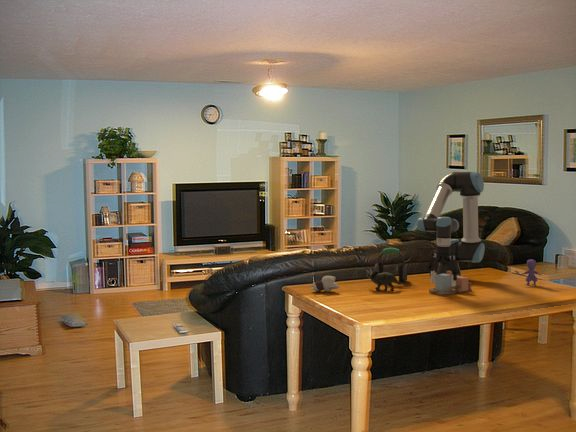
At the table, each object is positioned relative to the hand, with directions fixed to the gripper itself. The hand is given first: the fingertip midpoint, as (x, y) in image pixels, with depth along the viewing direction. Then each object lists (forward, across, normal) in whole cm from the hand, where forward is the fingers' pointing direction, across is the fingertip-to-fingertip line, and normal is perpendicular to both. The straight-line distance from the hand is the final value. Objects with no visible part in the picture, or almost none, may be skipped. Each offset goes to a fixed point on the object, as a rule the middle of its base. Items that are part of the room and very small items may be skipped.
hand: (442, 284), depth 356 cm
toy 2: (+5, +21, +54) cm, 58 cm away
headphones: (+5, -41, +5) cm, 42 cm away
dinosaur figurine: (+5, -27, -17) cm, 32 cm away
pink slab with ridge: (+4, 0, +11) cm, 12 cm away
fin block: (+4, 0, 0) cm, 4 cm away
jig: (+5, 0, +6) cm, 7 cm away
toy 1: (+5, -45, -45) cm, 64 cm away
